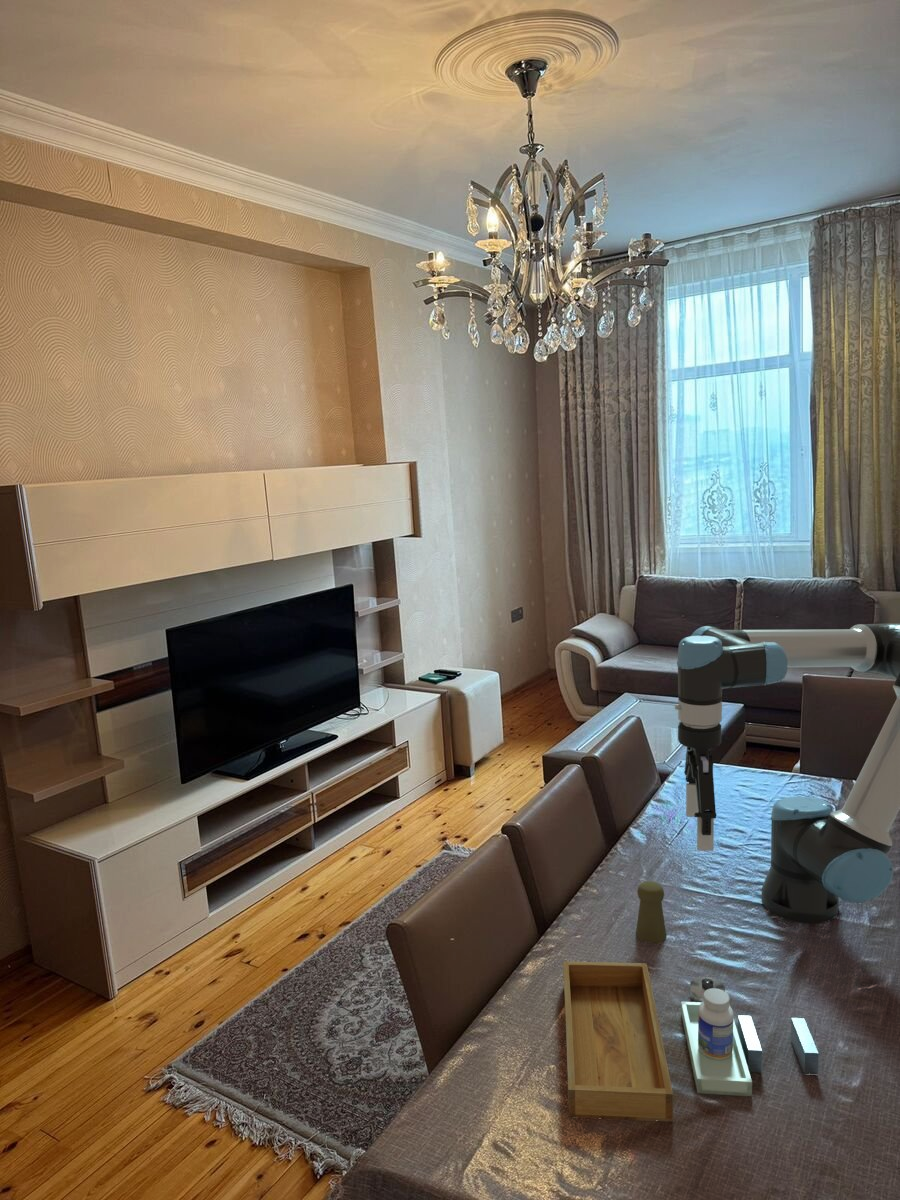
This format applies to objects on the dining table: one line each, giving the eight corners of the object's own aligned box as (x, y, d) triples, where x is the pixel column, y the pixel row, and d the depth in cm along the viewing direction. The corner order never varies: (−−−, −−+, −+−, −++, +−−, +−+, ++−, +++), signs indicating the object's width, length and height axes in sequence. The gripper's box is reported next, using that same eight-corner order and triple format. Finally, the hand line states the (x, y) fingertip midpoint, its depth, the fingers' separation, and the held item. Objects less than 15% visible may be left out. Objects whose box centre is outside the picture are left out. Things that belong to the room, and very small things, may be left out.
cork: (667, 944, 165) (667, 893, 163) (636, 942, 166) (635, 891, 164) (665, 927, 171) (665, 877, 169) (635, 925, 172) (634, 876, 170)
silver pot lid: (721, 987, 151) (721, 972, 151) (728, 1009, 145) (728, 993, 145) (687, 985, 152) (687, 970, 152) (692, 1007, 146) (692, 992, 146)
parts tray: (729, 1016, 143) (729, 1003, 143) (751, 1096, 126) (752, 1081, 125) (681, 1014, 145) (681, 1001, 144) (697, 1093, 127) (697, 1078, 127)
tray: (673, 1125, 122) (673, 1090, 121) (569, 1120, 124) (568, 1087, 123) (647, 990, 152) (647, 962, 151) (563, 988, 154) (563, 961, 153)
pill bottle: (692, 1039, 138) (693, 986, 136) (724, 1036, 138) (725, 983, 136) (705, 1063, 132) (706, 1008, 130) (738, 1059, 133) (739, 1004, 131)
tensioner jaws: (803, 1040, 137) (804, 1018, 136) (817, 1076, 129) (818, 1053, 128) (737, 1036, 138) (738, 1015, 138) (748, 1072, 131) (748, 1049, 130)
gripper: (669, 701, 163) (670, 803, 166) (687, 746, 138) (687, 864, 142) (709, 701, 162) (708, 803, 165) (734, 746, 137) (733, 865, 141)
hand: (699, 832), depth 154 cm, fingers open, 13 cm apart
